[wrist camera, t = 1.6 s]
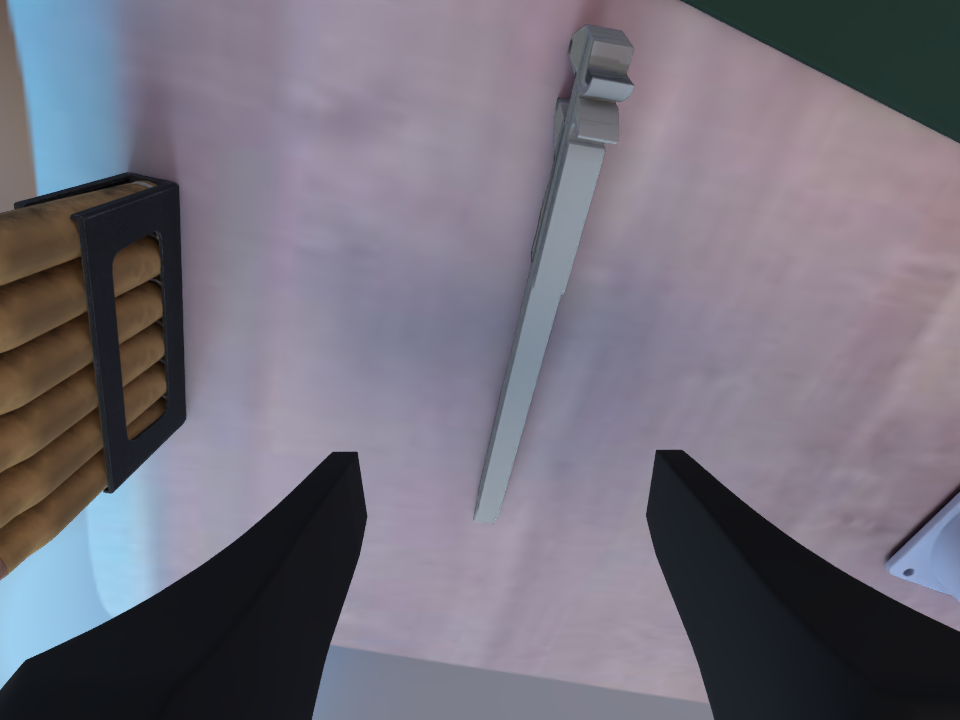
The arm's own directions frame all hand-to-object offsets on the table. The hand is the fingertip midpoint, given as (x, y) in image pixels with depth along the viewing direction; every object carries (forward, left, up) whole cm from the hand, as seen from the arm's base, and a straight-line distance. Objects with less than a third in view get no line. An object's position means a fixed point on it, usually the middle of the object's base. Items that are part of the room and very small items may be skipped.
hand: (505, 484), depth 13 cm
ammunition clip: (+13, +5, -10) cm, 17 cm away
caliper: (-1, 0, -10) cm, 10 cm away
